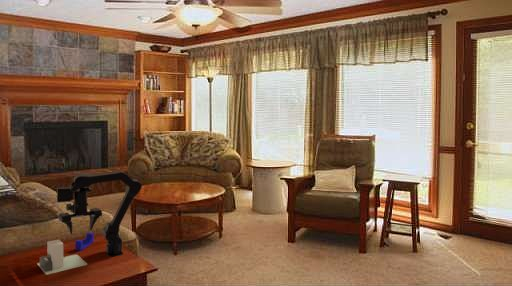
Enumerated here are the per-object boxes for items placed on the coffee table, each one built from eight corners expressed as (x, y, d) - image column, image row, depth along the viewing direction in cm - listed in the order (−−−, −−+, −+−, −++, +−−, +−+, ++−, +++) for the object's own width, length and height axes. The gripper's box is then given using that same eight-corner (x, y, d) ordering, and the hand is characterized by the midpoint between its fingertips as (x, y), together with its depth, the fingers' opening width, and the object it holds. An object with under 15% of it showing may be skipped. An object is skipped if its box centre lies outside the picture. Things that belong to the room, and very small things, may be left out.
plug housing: (59, 261, 200) (58, 239, 198) (63, 266, 195) (63, 243, 194) (47, 264, 196) (47, 241, 195) (51, 269, 192) (51, 245, 190)
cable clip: (85, 243, 226) (85, 232, 225) (93, 244, 225) (93, 233, 224) (72, 252, 214) (72, 240, 213) (81, 253, 213) (81, 241, 212)
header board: (76, 256, 209) (76, 246, 208) (87, 266, 199) (87, 256, 198) (36, 265, 197) (36, 254, 196) (46, 276, 187) (46, 265, 186)
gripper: (93, 193, 215) (93, 223, 218) (54, 199, 203) (54, 231, 205) (102, 199, 207) (102, 230, 210) (62, 205, 195) (62, 238, 197)
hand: (80, 232), depth 206 cm, fingers open, 9 cm apart
